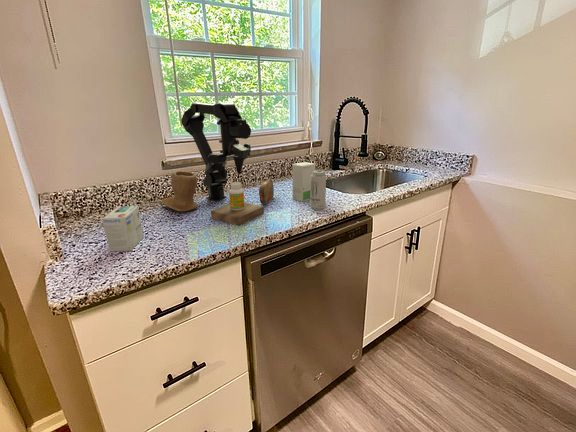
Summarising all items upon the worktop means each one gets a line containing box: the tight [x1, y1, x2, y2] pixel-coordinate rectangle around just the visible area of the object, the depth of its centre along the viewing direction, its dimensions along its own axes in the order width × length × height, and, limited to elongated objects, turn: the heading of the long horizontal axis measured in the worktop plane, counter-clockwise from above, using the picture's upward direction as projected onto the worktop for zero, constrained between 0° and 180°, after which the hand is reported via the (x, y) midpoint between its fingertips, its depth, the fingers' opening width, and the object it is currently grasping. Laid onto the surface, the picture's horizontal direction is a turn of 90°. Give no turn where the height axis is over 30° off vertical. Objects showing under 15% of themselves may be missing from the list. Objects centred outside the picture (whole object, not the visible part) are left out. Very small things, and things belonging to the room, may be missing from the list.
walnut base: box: [210, 201, 265, 227], centre depth 118 cm, size 14×14×3 cm
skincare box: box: [292, 161, 316, 203], centre depth 134 cm, size 8×7×16 cm
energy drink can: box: [309, 169, 327, 211], centre depth 123 cm, size 6×6×15 cm
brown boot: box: [161, 170, 198, 212], centre depth 126 cm, size 15×12×15 cm
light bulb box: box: [101, 205, 145, 253], centre depth 95 cm, size 11×7×11 cm, turn 5°
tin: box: [258, 180, 275, 205], centre depth 133 cm, size 15×3×8 cm, turn 168°
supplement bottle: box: [228, 181, 245, 211], centre depth 116 cm, size 5×5×10 cm
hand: (231, 176), depth 127 cm, fingers open, 9 cm apart
